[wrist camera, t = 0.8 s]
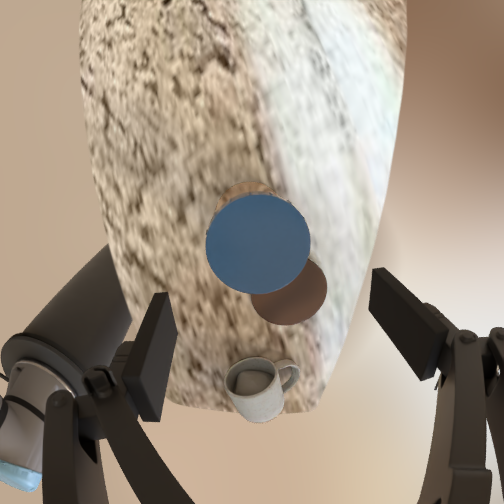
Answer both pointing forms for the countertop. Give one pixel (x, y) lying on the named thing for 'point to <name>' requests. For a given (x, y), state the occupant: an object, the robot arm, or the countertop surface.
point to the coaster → (294, 298)
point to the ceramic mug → (259, 387)
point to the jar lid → (257, 242)
